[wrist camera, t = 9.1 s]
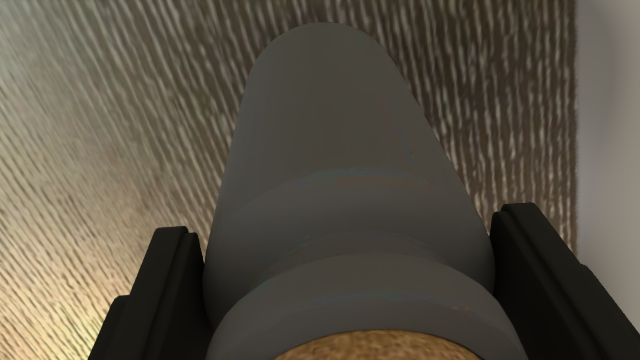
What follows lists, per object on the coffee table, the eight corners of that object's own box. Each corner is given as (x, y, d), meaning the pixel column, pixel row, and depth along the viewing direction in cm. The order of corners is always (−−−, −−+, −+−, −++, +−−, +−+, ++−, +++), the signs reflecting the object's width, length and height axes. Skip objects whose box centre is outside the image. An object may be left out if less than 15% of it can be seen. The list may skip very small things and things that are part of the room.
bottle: (242, 161, 20) (152, 659, 7) (247, 11, 17) (107, 396, 4) (386, 171, 21) (540, 651, 8) (414, 27, 18) (738, 413, 5)
